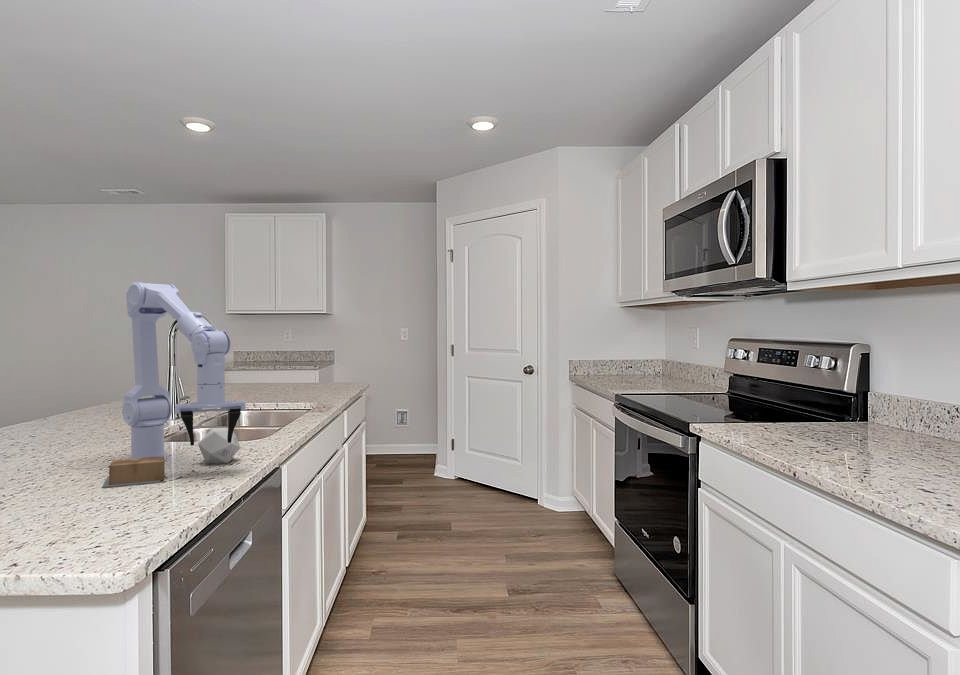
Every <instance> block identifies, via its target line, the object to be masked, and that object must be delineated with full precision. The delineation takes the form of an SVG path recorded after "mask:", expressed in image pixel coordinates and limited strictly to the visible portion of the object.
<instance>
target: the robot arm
mask: <svg viewBox="0 0 960 675" xmlns="http://www.w3.org/2000/svg"><path fill="white" fill-rule="evenodd" d="M125 295H126V296H125V297H126V298H125V299H126V311H127V316H128V317H129V318H131V331H132V332H131V333H132V347H133V348H132V349H133V363H134V364H133V367H134V368H133V369H134V382H135V385H134V386H133V387H132V388H131V389H130V390H129V391H127V392H126V393H125V394H124V396H123V405H122V410H121V414H122V419H123V420H124V422H125V423H126V424H127V426H129V427H130V457H129V459H132V458H144V457H157V456H164V462H166V461H167V460H166V459H167V452H166V451H165V424H167V423H168V420H170V418H171V416H172V414H173V404H172V401H171V398H170V397H171V396H170V392H169V390H168V389H166V388H165V387H163V386H162V385H160V377H159V376H160V375H159V360H158V359H159V358H158V344H157V326H156V323H157V321H158V320H159V319H161V318H163V317H165V316H167V314H169V315H170V316H171V317H172V318H173V319H174V320H176V321H177V328H178V330H179V332H181V333H182V334H183V336H185V337H186V339H188V341H189V342H190V345H191V346H190V348H191V351H192V353H193V355H194V356H193V357H194V359H193V360H194V362H195V364H196V366H197V367H196V371H197V373H196V387H197V388H196V389H197V390H196V393H197V395H196V396H197V397H196V398H197V400H196V402H187V403H176V404H175V405H174V407H175V408H174V414H175V415H178V414H180V418H181V420H182V422H183V424H184V426H185V428H186V431H187V434H188V437H189V443H190V446H195V435H194V413H207V412H209V413H210V412H225V411H227V422H228V423H227V425H228V426H227V429H228V436H227V440H228V443H231V440H232V435H233V431H234V432H235V428H236V425H237V424H238V420H239V419H240V416H241V413H242V411H247V410H246V408H247V407H246V406H247V405H246V403H247V402H246V401H245V400H239V401H238V400H233V401H232V400H231V401H230V400H229V401H226V396H225V395H226V392H225V391H226V390H225V388H226V383H225V382H226V380H225V379H226V374H225V372H226V370H225V369H226V365H225V364H226V358H225V356H226V355H227V354H228V353H229V351H230V349H231V342H232V341H231V338H230V335H229V334H228V333H227V330H223V329H221V330H220V329H216V328H215V327H213V325H212V324H210V322H209V321H207V320H206V319H205V318H204V317H203V314H202V313H201V312H198V311H191V310H189V308H188V307H187V306H186V304H185V303H184V302H183V301H182V299H181V298H180V290H179V289H178V288H177V287H176V286H175V285H174V284H172V283H169V284H168V283H167V284H162V283H149V282H147V283H146V282H140V281H134V282H132V283H131V285H130V286H129V287H128V289H127V291H126V293H125ZM152 396H153V397H152ZM143 397H145V398H143Z"/></svg>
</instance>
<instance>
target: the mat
mask: <svg viewBox="0 0 960 675" xmlns="http://www.w3.org/2000/svg"><path fill="white" fill-rule="evenodd" d="M105 478H106V479H105V480H104V482H103V484H102V485H101V489H105V488H106V489H108V488H118V487H127V486H128V487H131V486H140V485H150V484H159V483H161V481H162V480H157V481H146V482H136V483H125V484H115V485H109V476H106V477H105Z"/></svg>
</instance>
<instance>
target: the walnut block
mask: <svg viewBox="0 0 960 675" xmlns="http://www.w3.org/2000/svg"><path fill="white" fill-rule="evenodd" d="M108 468H109V469H108V470H109V472H108V473H109V474H108V475H109V476H108V477H109V485H115V484H125V483H136V482H146V481H157V480H161V481H164V480H165V461H164V456H157V457H144V458H132V459H130V458H122V459H119V458H118V459H111V462H110V464H109V465H108Z"/></svg>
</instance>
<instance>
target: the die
mask: <svg viewBox="0 0 960 675" xmlns="http://www.w3.org/2000/svg"><path fill="white" fill-rule="evenodd" d="M227 436H228V428H211V429H210V430H208V432H206V434H205V435H204V437H202V438H201V440H199V442H198V443H197V445H198V447H199V451H200V452H201V454H202V457H203V459H204V461H205V463H206V464H229V462H230V461H231V460H232V459H233V458H234V456H236V454H237V453H238V451H240V449H241V444H240V443H239V440H238V437H237V435H236V433H235V430H234V431H233V435H232V440H231V443H228V440H227Z"/></svg>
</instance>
